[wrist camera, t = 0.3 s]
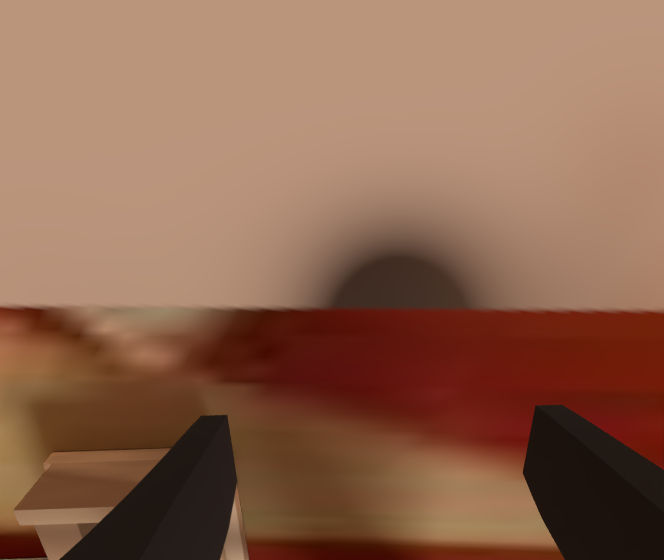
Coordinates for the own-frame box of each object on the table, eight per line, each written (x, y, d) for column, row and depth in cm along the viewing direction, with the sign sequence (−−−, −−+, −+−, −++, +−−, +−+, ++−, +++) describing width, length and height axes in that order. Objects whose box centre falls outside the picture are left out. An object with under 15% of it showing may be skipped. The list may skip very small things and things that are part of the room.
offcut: (111, 528, 23) (91, 563, 21) (73, 530, 23) (51, 565, 21) (94, 480, 22) (73, 513, 20) (54, 481, 22) (29, 514, 20)
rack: (251, 576, 26) (240, 642, 22) (100, 581, 26) (66, 649, 22) (230, 445, 22) (213, 503, 18) (52, 452, 22) (2, 511, 18)
